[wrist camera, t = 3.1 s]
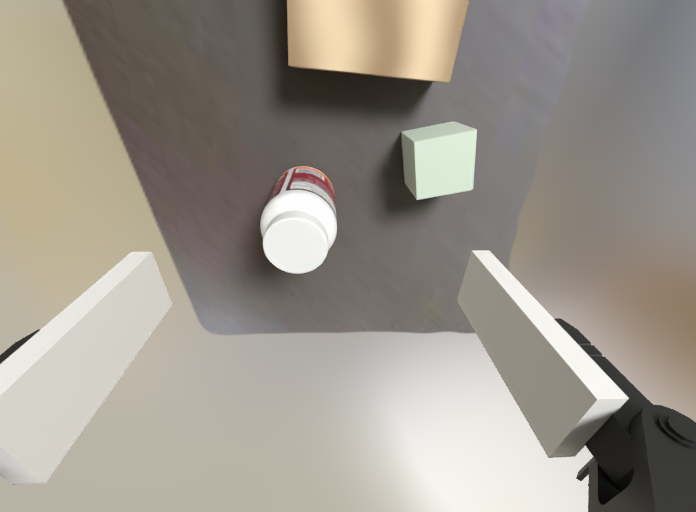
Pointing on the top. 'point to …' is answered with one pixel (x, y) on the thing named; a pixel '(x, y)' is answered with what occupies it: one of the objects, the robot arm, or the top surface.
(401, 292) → the top surface
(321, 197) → the pill bottle
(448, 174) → the sage cube
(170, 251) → the top surface
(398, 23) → the oak block
